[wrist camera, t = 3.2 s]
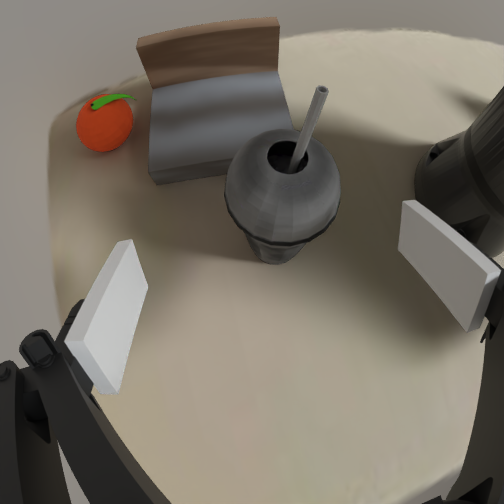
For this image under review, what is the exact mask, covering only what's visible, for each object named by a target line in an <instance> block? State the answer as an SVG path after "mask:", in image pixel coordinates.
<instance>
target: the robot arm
mask: <svg viewBox="0 0 504 504" xmlns="http://www.w3.org/2000/svg"><path fill="white" fill-rule="evenodd" d="M415 194H416V199H417V201H416V200H407V201H402V214H401V225H400V234H399V243H398V250H399V251H400V252H401V254H402V255H403V256H404V257H405V258H406V259H407V260H408V261H409V262H410V264H411V265H412V266H413V267H414V268H415V269H416V271H417V272H418V273H419V274H420V275H421V276H422V278H423V279H424V280H425V281H426V282H427V283H428V285H429V286H430V287H431V288H432V289H433V291H434V292H435V293H436V294H437V296H438V297H439V298H440V299H441V300H442V302H443V303H444V304H445V305H446V307H447V308H448V309H449V311H450V312H451V313H452V314H453V316H454V317H455V318H456V320H457V321H458V322H459V323H460V325H461V326H462V327H463V329H464V330H465V331H466V333H468V332H470V331H473V330H475V329H478V328H480V326H481V323H482V321H483V319H484V316H485V317H486V318H487V319H488V320H489V323H488V325H487V327H486V330H485V332H484V334H483V336H482V338H481V341H480V343H482V342H483V340H484V339H485V338H486V341H485V354H484V364H483V372H482V380H481V387H480V393H479V399H478V405H477V410H476V416H475V420H474V425H473V430H472V434H471V438H470V442H469V446H468V450H467V453H466V457H465V460H464V464H463V467H462V470H461V473H460V476H459V477H458V479H457V481H456V482H455V484H454V485H453V487H452V488H451V490H450V492H449V494H448V496H447V498H446V500H442V499H441V496H438V497H436V498H434V499H431V500H429V501H427V502H425V503H422V504H504V269H503V268H502V267H501V266H500V265H499V264H498V263H497V262H495V261H494V260H493V259H492V258H493V257H495V256H497V255H499V254H501V253H502V252H503V251H504V87H503V88H502V89H501V90H500V92H499V93H498V94H497V95H496V97H495V98H494V99H493V100H492V101H491V102H490V104H489V105H488V106H487V107H486V108H485V110H484V111H483V112H482V113H481V114H480V115H479V116H478V118H477V119H476V120H475V121H474V122H473V124H472V125H471V126H470V127H469V128H468V129H467V130H466V131H463V132H461V133H459V134H456V135H454V136H452V137H449V138H447V139H445V140H443V141H440V142H438V143H436V144H435V145H434V146H432V147H431V148H430V149H429V151H428V152H427V153H426V154H425V155H424V157H423V158H422V159H421V161H420V162H419V164H418V167H417V170H416V174H415ZM147 290H148V285H147V282H146V279H145V276H144V273H143V270H142V268H141V265H140V262H139V259H138V256H137V253H136V250H135V247H134V243H133V240H132V239H129V240H124V241H118V242H117V244H116V245H115V247H114V249H113V250H112V252H111V254H110V255H109V257H108V259H107V261H106V262H105V264H104V266H103V268H102V269H101V271H100V273H99V275H98V276H97V278H96V280H95V282H94V284H93V285H92V287H91V289H90V291H89V293H88V295H87V297H86V299H81V300H80V301H79V302H78V303H77V304H76V305H75V306H74V307H73V308H72V309H71V311H70V313H69V315H68V318H67V319H66V321H65V323H64V325H63V327H62V329H61V331H60V333H59V335H58V337H57V339H56V341H54V340H53V338H52V337H51V335H50V334H49V333H48V331H47V330H43V329H42V330H36V331H34V332H32V333H30V334H29V335H28V336H26V337H25V338H24V340H23V341H22V342H21V345H20V347H19V352H20V354H21V355H22V356H23V358H24V359H25V361H26V362H27V363H28V365H29V367H26V368H23V369H19V368H18V367H17V365H16V364H15V363H14V362H13V361H10V360H9V361H5V362H3V363H1V364H0V504H71V500H70V497H69V493H68V489H67V485H66V481H65V477H64V472H63V468H62V463H61V458H60V453H59V447H58V442H59V445H60V447H61V449H62V451H63V453H64V456H65V458H66V460H67V462H68V464H69V466H70V468H71V470H72V472H73V474H74V476H75V478H76V479H77V481H78V483H79V485H80V487H81V489H82V490H83V492H84V494H85V496H86V497H87V499H88V501H89V502H90V504H171V502H170V501H169V500H168V499H167V498H166V497H165V496H164V494H163V493H162V492H161V491H160V490H159V489H158V487H157V486H156V485H155V484H154V483H153V481H152V480H151V479H150V478H149V476H148V475H147V474H146V473H145V471H144V470H143V469H142V467H141V466H140V465H139V464H138V462H137V461H136V460H135V458H134V457H133V455H132V454H131V453H130V451H129V450H128V449H127V447H126V446H125V444H124V443H123V441H122V440H121V438H120V437H119V436H118V434H117V433H116V431H115V430H114V428H113V427H112V425H111V423H110V422H109V420H108V419H107V417H106V416H105V414H104V412H103V411H102V409H101V407H100V406H99V404H98V402H97V401H96V399H95V397H94V396H93V395H92V394H91V391H92V387H93V384H94V386H95V387H96V389H97V390H98V391H99V392H100V394H119V390H120V386H121V381H122V377H123V373H124V370H125V366H126V362H127V358H128V354H129V351H130V347H131V343H132V340H133V336H134V333H135V329H136V326H137V322H138V319H139V315H140V312H141V309H142V306H143V302H144V299H145V296H146V293H147ZM57 440H58V441H57Z"/></svg>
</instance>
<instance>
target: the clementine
mask: <svg viewBox="0 0 504 504" xmlns="http://www.w3.org/2000/svg"><path fill="white" fill-rule="evenodd" d="M122 98H132V99H134V98H133V97H131V96H129V95H125V94H103V95H99V96H96V97H94V98H92V99H91V100H89V101H88V102H87V103H86V104H85V105H84V106H83V107H82V109H81V110H80V112H79V115H78V118H77V122H76V128H77V134H78V137H79V138H80V140H81V142H82V143H83V144H84V145H85V146H86V147H88V148H89V149H92V150H94V151H99V152H104V151H110V150H113V149H115V148H117V147H119V146H120V145H121V144H122V143H123V142H125V140H126V139H127V138H128V136H129V134H130V132H131V130H132V126H133V114H132V111H131V108H130V107H129V105H128V104H127V102H126V101H125V100H123V99H122ZM134 100H136V99H134Z"/></svg>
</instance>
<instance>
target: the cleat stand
mask: <svg viewBox="0 0 504 504" xmlns="http://www.w3.org/2000/svg"><path fill="white" fill-rule="evenodd" d="M279 31H280V25H279V23H278V20H277V18H276V17H266V18H251V19H240V20H231V21H222V22H215V23H209V24H201V25H196V26H190V27H185V28H179V29H174V30H170V31H165V32H161V33H156V34H153V35H148V36H144V37H141V38H138V41H137V46H136V49H137V51H138V54H139V57H140V59H141V61H142V64H143V66H144V69H145V71H146V74H147V76H148V79H149V81H150V84H151V86H152V88H153V93H152V105H151V119H150V137H149V163H148V173H149V174H150V176H151V177H152V179H153V180H154V182H155V183H156V185H162V184H167V183H173V182H179V181H185V180H191V179H197V178H203V177H210V176H217V175H223V174H227V173H228V169H229V166H230V164H231V162H232V160H233V158H234V156H235V154H236V153H237V151H238V150H239V149H240V148H241V147H242V146H243V145H244V144H245V143H246V142H247V141H248V140H250V139H251V138H253V137H255V136H257V135H259V134H261V133H263V132H265V131H270V130H275V129H292V130H294V129H293V125H292V121H291V117H290V114H289V110H288V106H287V102H286V99H285V95H284V91H283V88H282V84H281V81H280V77H279V74H278V54H279V33H280V32H279Z"/></svg>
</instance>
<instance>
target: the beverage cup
mask: <svg viewBox="0 0 504 504" xmlns="http://www.w3.org/2000/svg"><path fill="white" fill-rule="evenodd" d="M328 92H329V91H328V88H326V87H325V86H320V85H319V86H318V87H317V88H316V91H315V93H314V96H313V99H312V102H311V105H310V108H309V111H308V114H307V116H306V119H305V122H304V125H303V128H302V131H301V132H300V131H297V130H292V129H275V130H270V131H265V132H263V133H261V134H259V135H257V136H255V137H253V138H251V139H250V140H248V141H247V142H246V143H245V144H244V145H243V146H242V147H241V148H240V149H239V150H238V151H237V153H236V154H235V156H234V158H233V160H232V162H231V164H230V166H229V169H228V173H227V177H226V183H225V192H224V197H225V201H226V205H227V209H228V212H229V214H230V215H231V217H232V218H233V220H234V221H235V223H236V225H237V226H238V227H239V228H240V229H241V230H243V231H244V233H245V235H246V237H247V239H248V242H249V244H250V246H251V248H252V249H253V251H254V252H255V254H256V255H257V257H258V258H260V259H261V260H262V261H263V262H266V263H268V264H276V265H278V264H282V263H285V262H287V261H288V260H290V259H291V258H293V257H294V256H295V255H296V254H297V253H298V252H299V251H300V250H301V248H302V247H303V246H304V245H305V244H306V243H307V242H310V241H311V240H313V239H314V238H316V237H317V236H319V235H321V234H322V233H324V232H325V231H326V229H327V228H328V227H329V225H330V224H331V223H332V222H333V220H334V219H335V217H336V214H337V210H338V207H339V204H340V195H341V187H340V174H339V171H338V168H337V166H336V163H335V161H334V159H333V156H332V155H331V154H330V153H329V152H328V150H327V149H326V148H325V147H324V146H323V144H322V143H321V142H319V141H318V140H316V139H315V138H313V137H312V133H313V131H314V128H315V125H316V123H317V120H318V118H319V115H320V113H321V110H322V108H323V105H324V102H325V100H326V97H327V95H328Z"/></svg>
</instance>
